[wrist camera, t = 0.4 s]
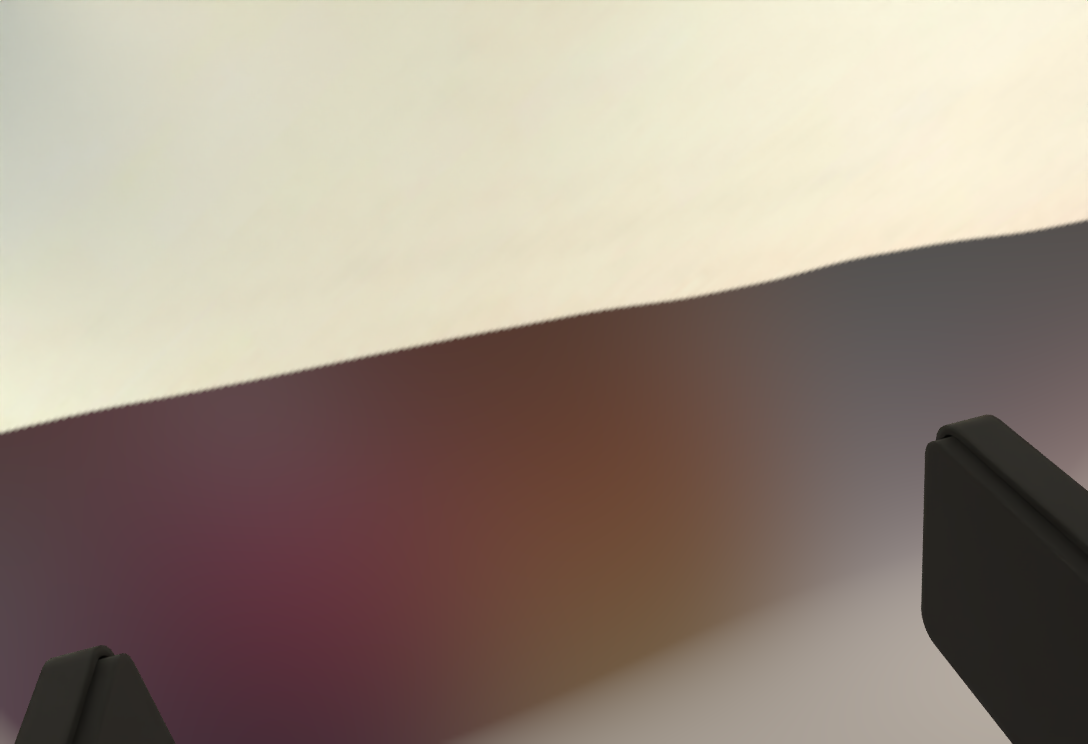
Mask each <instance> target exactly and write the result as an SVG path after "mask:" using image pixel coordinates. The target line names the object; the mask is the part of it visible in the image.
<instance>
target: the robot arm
mask: <svg viewBox="0 0 1088 744" xmlns="http://www.w3.org/2000/svg"><path fill="white" fill-rule="evenodd" d="M922 564H923V565H922V602H921V603H922V604H921V611H922V618H923V622H924V625H925V628H926V631H927V633H928V635H929V637H930V638H931V640H932V641H933V643H934V644H935V646H936V647H937V648H938V649H939V651H940V652H941V653H942V654H943V656H944V657H945V658H946V660H947V661H948V662H949V663H950V664H951V666H952V667H953V668H954V670H955V671H956V672H957V673H958V675H959V676H960V677H961V679H962V680H963V681H964V682H965V684H966V685H967V686H968V688H969V689H970V690H971V691H972V693H973V694H974V695H975V696H976V698H977V699H978V700H979V702H980V703H981V704H982V705H983V707H984V708H985V709H986V710H987V712H988V713H989V714H990V715H991V717H992V718H993V719H994V721H995V722H996V723H997V724H998V726H999V727H1000V728H1001V730H1002V731H1003V732H1004V733H1005V735H1006V736H1007V737H1008V739H1009V740H1010V741H1011V742H1012V744H1088V491H1087V490H1086V489H1084V488H1083V487H1082V486H1081V485H1080V484H1078V483H1077V482H1076V481H1075V480H1073V479H1072V478H1071V477H1070V476H1069V475H1067V474H1066V473H1065V472H1063V471H1062V470H1061V469H1060V468H1059V467H1057V466H1056V465H1055V464H1054V463H1052V462H1051V461H1050V460H1049V459H1048V458H1046V457H1045V456H1043V454H1041V453H1040V452H1039V451H1038V450H1037V449H1035V448H1034V447H1033V446H1032V445H1030V444H1029V443H1028V442H1027V441H1025V440H1024V439H1023V438H1022V437H1021V436H1019V435H1018V434H1017V433H1016V432H1014V431H1013V430H1012V429H1011V428H1009V427H1008V426H1007V425H1006V424H1005V423H1003V422H1002V421H1001V420H1000V419H998V418H996V417H994V416H993V415H983V416H980V417H975V418H972V419H968V420H964V421H960V422H956V423H952V424H949V425H945V426H943V427H941V428H940V429H939V431H938V433H937V437H936V441H932V442H930V443H928V445H927V447H926V451H925V481H924V522H923V563H922ZM15 744H175V742H174V740H173V738H172V736H171V734H170V732H169V730H168V728H167V726H166V725H165V723H164V721H163V719H162V717H161V715H160V713H159V711H158V709H157V707H156V705H155V703H154V701H153V699H152V697H151V696H150V693H149V692H148V690H147V688H146V686H145V684H144V682H143V680H142V678H141V676H140V674H139V672H138V670H137V668H136V666H135V664H134V662H133V661H132V659H131V658H130V656H129V655H127V654H123V653H122V654H119V655H114V654H113V652H112V651H111V650H110V649H109V648H108V647H107V646H102V645H100V646H96V647H93V648H89V649H85V650H81V651H77V652H74V653H70V654H66V655H62V656H58V657H54V658H51V659H50V660H48V661H47V662H46V663H45V665H44V666H43V668H42V670H41V673H40V676H39V679H38V681H37V684H36V687H35V690H34V692H33V695H32V698H31V700H30V703H29V706H28V709H27V712H26V714H25V717H24V720H23V722H22V725H21V728H20V730H19V733H18V736H17V739H16V741H15Z"/></svg>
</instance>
